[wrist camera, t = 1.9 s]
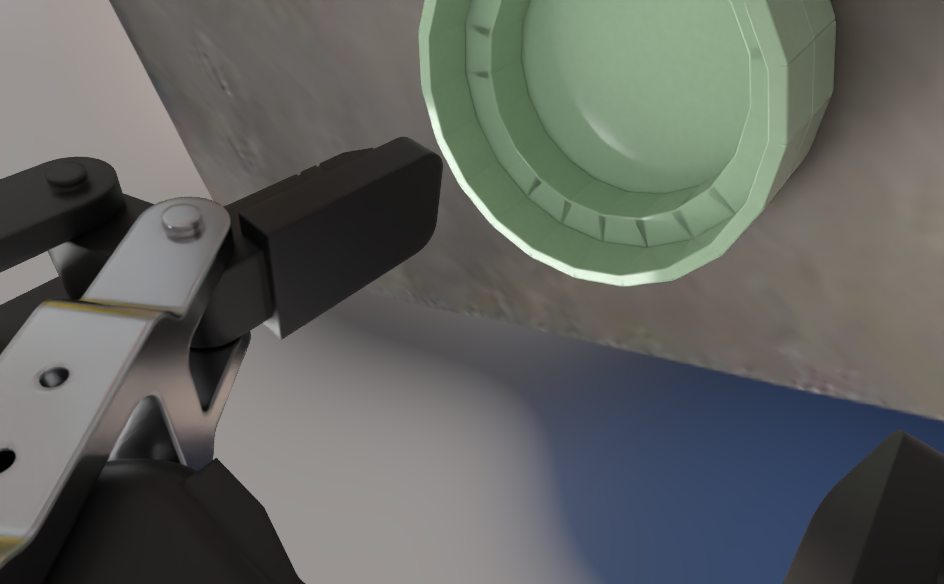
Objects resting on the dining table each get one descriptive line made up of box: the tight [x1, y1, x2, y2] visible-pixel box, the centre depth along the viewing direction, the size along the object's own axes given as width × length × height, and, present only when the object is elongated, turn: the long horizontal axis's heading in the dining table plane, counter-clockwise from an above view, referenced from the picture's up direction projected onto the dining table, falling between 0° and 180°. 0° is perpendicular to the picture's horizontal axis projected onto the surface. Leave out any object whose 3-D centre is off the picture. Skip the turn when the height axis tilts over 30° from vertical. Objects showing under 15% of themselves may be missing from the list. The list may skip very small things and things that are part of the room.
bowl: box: [418, 0, 836, 287], centre depth 25 cm, size 15×15×6 cm
